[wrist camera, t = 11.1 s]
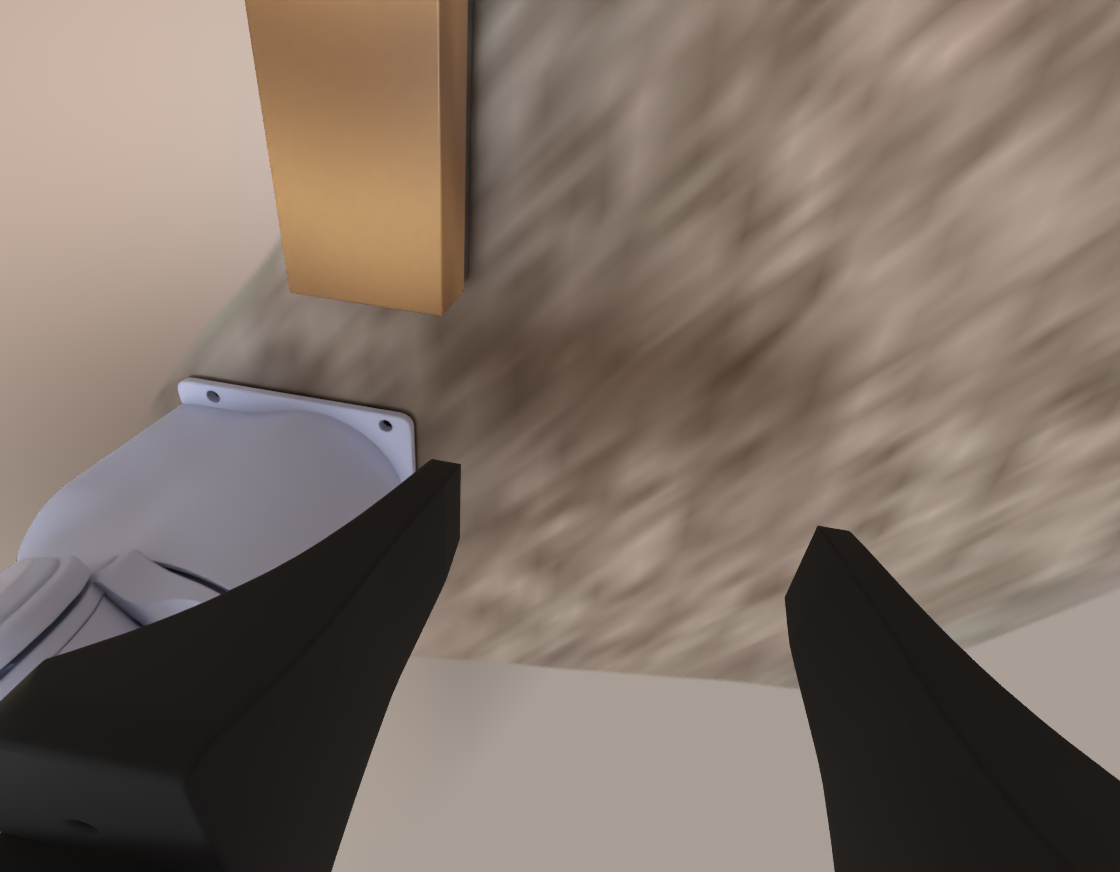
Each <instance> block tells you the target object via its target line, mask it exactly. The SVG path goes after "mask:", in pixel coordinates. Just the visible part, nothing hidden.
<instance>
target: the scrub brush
mask: <svg viewBox="0 0 1120 872" xmlns="http://www.w3.org/2000/svg"><path fill="white" fill-rule="evenodd" d="M245 5H246V11H247V18H248V24H249V31H250V37H251V44H252V50H253V56H254V63H255V70H256V75H257V83H258V89H259V95H260V102H261V109H262V114H263V122H264V128H265V135H266V141H267V148H268V154H269V161H270V167H271V173H272V180H273V186H274V193H275V199H276V206H277V212H278V219H279V225H280V232H281V238H282V245H283V251H284V258H285V264H286V271H287V277H288V284H289V290H290V292H291V293H296V294H303V295H309V296H316V297H322V298H329V299H335V300H342V301H348V302H354V303H361V304H367V305H374V306H380V307H387V308H393V309H400V310H406V311H413V312H419V313H425V314H432V315H438V316H442V315H443V314H444V313H445V312H446V311H447V310H448V309H449V307H450V306H451V305H452V304H453V303H454V302H455V301H456V300H457V298H458V297H459V296H460V295H461V294H462V293H463V291H464V281H465V280H466V279H467V278H468V267H469V211H470V155H471V100H472V44H473V0H245Z"/></svg>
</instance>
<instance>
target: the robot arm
mask: <svg viewBox="0 0 1120 872" xmlns="http://www.w3.org/2000/svg"><path fill="white" fill-rule="evenodd" d="M178 392H179V395H180V399H181V402H182V404H181V405H179V406H178V407H176V408H175V409H173V410H172V411H171V412H169V413H168V414H166V415H165V416H163V417H162V418H160V419H159V420H158V421H156V422H155V423H153V424H152V425H150V426H149V427H147V428H146V429H145V430H143V431H142V432H140V433H139V434H137V435H136V436H134V437H133V438H132V439H130V440H129V441H127V442H126V443H124V444H123V445H121V446H120V447H119V448H117V449H116V450H114V451H113V452H111V453H110V454H108V455H107V456H106V457H104V458H103V459H101V460H100V461H98V462H97V463H96V464H94V465H93V466H91V467H90V468H88V469H87V470H85V471H84V472H83V473H81V474H80V475H78V476H77V477H75V478H74V479H72V480H71V481H70V482H68V483H67V484H66V485H65V486H63V487H62V488H61V489H60V490H58V491H57V492H56V493H55V494H54V495H53V496H52V497H51V499H49V501H48V502H47V503H46V504H45V505H44V506H43V508H42V509H41V510H40V512H39V513H38V514H37V516H36V517H35V519H34V521H33V522H32V524H31V525H30V527H29V529H28V531H27V533H26V534H25V536H24V538H23V541H22V543H21V546H20V549H19V552H18V555H17V560H16V563H14V564H13V565H10V566H8V567H6V568H4V569H3V570H1V571H0V872H331V871H332V868H333V865H334V861H335V858H336V855H337V852H338V849H339V846H340V843H341V840H342V837H343V834H344V831H345V828H346V825H347V822H348V819H349V816H350V812H351V810H352V807H353V804H354V800H355V797H356V795H357V792H358V789H359V786H360V783H361V780H362V777H363V775H364V772H365V769H366V766H367V763H368V760H369V757H370V754H371V751H372V749H373V746H374V743H375V740H376V737H377V735H378V732H379V729H380V727H381V724H382V721H383V718H384V716H385V713H386V710H387V708H388V705H389V702H390V699H391V696H392V694H393V692H394V690H395V687H396V685H397V683H398V680H399V678H400V675H401V673H402V671H403V669H404V667H405V665H406V663H407V661H408V659H409V657H410V655H411V653H412V651H413V649H414V647H415V644H416V642H417V640H418V638H419V636H420V634H421V632H422V630H423V628H424V626H425V624H426V622H427V619H428V617H429V615H430V613H431V611H432V609H433V607H434V605H435V603H436V601H437V598H438V596H439V594H440V592H441V590H442V588H443V586H444V583H445V581H446V578H447V575H448V573H449V570H450V567H451V564H452V561H453V558H454V555H455V552H456V548H457V545H458V542H459V539H460V483H461V464H457V463H451V462H445V461H440V460H434V459H432V460H430V461H429V462H427V463H426V464H425V465H423V466H422V467H421V468H419V469H418V470H417V471H416V465H415V438H414V424H413V421H412V419H411V418H410V417H409V416H408V415H406V414H404V413H401V412H395V411H389V410H383V409H377V408H371V407H365V406H359V405H353V404H347V403H341V402H335V401H329V400H323V399H317V398H311V397H305V396H299V395H293V394H287V393H281V392H275V391H269V390H263V389H258V388H252V387H246V386H240V385H234V384H228V383H222V382H216V381H210V380H204V379H198V378H186V379H184V380H183V381H181V382H180V383H179V384H178ZM214 392H215V393H217V394H218V396H219V397H217V396H216V395H215V394H214ZM383 420H386V421H389V422H390V423H391V425H392V427H390V426H387V425H386V424H385V423H384V421H383ZM785 605H786V616H787V626H788V635H789V643H790V648H791V653H792V657H793V661H794V665H795V670H796V674H797V678H798V682H799V686H800V690H801V694H802V698H803V702H804V705H805V710H806V714H807V718H808V722H809V726H810V730H811V734H812V738H813V742H814V746H815V750H816V754H817V758H818V763H819V768H820V773H821V777H822V782H823V788H824V795H825V802H826V809H827V816H828V823H829V830H830V837H831V845H832V853H833V861H834V870H835V872H1120V781H1119V780H1118V779H1117V778H1115V777H1114V776H1112V775H1111V774H1110V773H1109V772H1107V771H1106V770H1105V769H1104V768H1102V767H1101V766H1100V765H1098V764H1097V763H1096V762H1094V761H1093V760H1092V759H1090V758H1089V757H1088V756H1086V755H1085V754H1084V753H1083V752H1081V751H1080V750H1079V749H1077V748H1076V747H1075V746H1073V745H1072V744H1071V743H1070V742H1068V741H1067V740H1066V739H1064V738H1063V737H1062V736H1061V735H1059V734H1058V733H1057V732H1056V731H1054V730H1053V729H1052V728H1051V727H1049V726H1048V725H1047V724H1046V723H1045V722H1043V721H1042V720H1041V719H1040V718H1038V717H1037V716H1036V715H1035V714H1034V713H1033V712H1031V711H1030V710H1029V709H1028V708H1027V707H1026V706H1024V705H1023V704H1022V703H1021V702H1020V701H1018V700H1017V699H1016V698H1015V697H1014V696H1013V695H1012V694H1010V693H1009V692H1008V691H1007V690H1006V689H1005V688H1003V687H1002V686H1001V685H1000V684H999V683H998V682H997V681H995V679H993V678H992V677H991V676H990V675H989V674H988V673H987V672H986V671H985V670H984V669H982V668H981V667H980V666H979V665H978V664H977V663H976V662H975V661H974V660H973V659H972V658H971V657H970V656H969V655H968V654H967V653H966V652H965V651H964V650H963V649H962V648H961V647H960V646H959V645H957V644H956V643H955V642H954V641H953V640H952V639H951V638H950V637H949V636H948V635H947V634H946V633H945V632H944V631H943V630H942V629H941V628H940V627H939V626H938V625H937V624H936V623H935V622H934V621H933V619H932V618H931V617H930V616H929V615H928V614H927V613H926V612H925V611H924V610H923V609H922V608H921V607H920V606H919V605H918V604H917V603H916V602H915V601H914V600H913V598H912V597H911V596H910V595H909V594H908V593H907V592H906V591H905V590H904V589H903V588H902V587H901V586H900V584H899V583H898V582H897V581H896V580H895V579H894V578H893V577H892V576H891V575H890V574H889V572H888V571H887V570H886V569H885V568H884V567H883V566H882V565H881V564H880V563H879V562H878V560H877V559H876V558H875V557H874V556H873V555H872V554H871V553H870V552H869V551H868V550H867V549H866V547H865V546H864V545H863V544H862V543H861V542H860V541H859V540H858V539H857V538H856V537H855V536H854V535H853V534H852V533H851V532H850V531H846V530H840V529H834V528H828V527H823V526H817V528H816V531H815V533H814V535H813V537H812V539H811V541H810V544H809V546H808V548H807V550H806V552H805V554H804V557H803V559H802V561H801V563H800V565H799V568H798V570H797V572H796V574H795V576H794V578H793V581H792V583H791V585H790V587H789V589H788V591H787V594H786V596H785Z"/></svg>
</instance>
